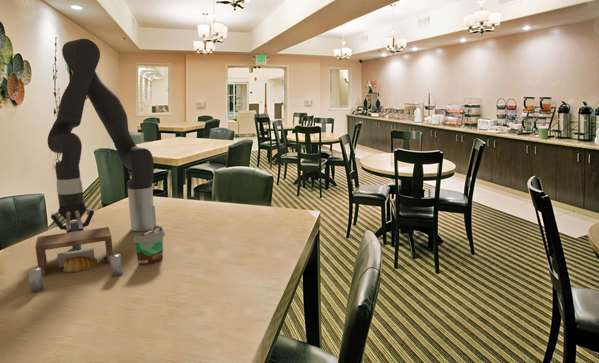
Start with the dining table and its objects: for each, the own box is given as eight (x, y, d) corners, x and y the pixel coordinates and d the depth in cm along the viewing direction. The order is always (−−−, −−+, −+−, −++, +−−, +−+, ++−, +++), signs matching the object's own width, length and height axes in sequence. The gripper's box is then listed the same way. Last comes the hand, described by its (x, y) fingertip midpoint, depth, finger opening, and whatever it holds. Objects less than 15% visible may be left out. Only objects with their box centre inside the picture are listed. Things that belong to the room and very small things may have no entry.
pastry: (97, 261, 129) (96, 250, 128) (98, 269, 123) (97, 257, 123) (63, 267, 125) (62, 255, 124) (63, 275, 119) (61, 263, 118)
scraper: (92, 242, 144) (90, 219, 142) (94, 261, 129) (92, 235, 127) (60, 246, 140) (57, 223, 138) (59, 267, 124) (55, 240, 122)
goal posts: (121, 271, 121) (120, 253, 119) (123, 275, 118) (121, 256, 117) (31, 289, 110) (28, 268, 108) (30, 293, 107) (27, 272, 106)
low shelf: (111, 253, 135) (108, 227, 133) (114, 263, 127) (111, 235, 125) (41, 265, 126) (37, 236, 124) (39, 277, 117) (35, 246, 115)
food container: (153, 268, 123) (151, 237, 121) (135, 267, 124) (132, 236, 122) (173, 254, 135) (171, 225, 133) (157, 252, 136) (154, 224, 134)
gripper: (92, 186, 143) (97, 233, 146) (47, 191, 136) (53, 239, 139) (93, 190, 136) (98, 239, 140) (45, 195, 130) (52, 245, 133)
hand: (76, 238), depth 140 cm, fingers closed on scraper, 2 cm apart
